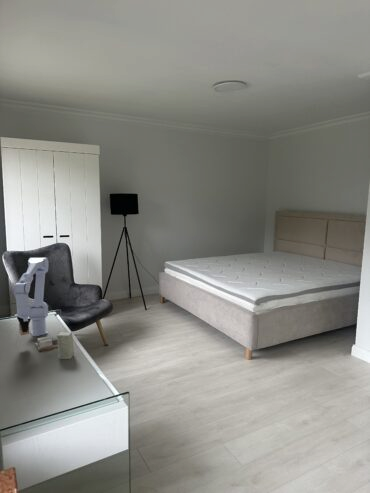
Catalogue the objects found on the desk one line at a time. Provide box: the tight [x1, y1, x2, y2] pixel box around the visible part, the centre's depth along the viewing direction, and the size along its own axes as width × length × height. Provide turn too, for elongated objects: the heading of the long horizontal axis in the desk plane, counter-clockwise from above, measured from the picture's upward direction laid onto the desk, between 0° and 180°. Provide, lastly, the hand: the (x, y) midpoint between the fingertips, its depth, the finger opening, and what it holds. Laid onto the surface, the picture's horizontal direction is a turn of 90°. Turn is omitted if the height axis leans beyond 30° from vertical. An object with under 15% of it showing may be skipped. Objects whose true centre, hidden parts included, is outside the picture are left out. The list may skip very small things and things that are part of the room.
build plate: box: [34, 335, 58, 352], centre depth 181 cm, size 10×11×4 cm
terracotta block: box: [18, 323, 30, 336], centre depth 178 cm, size 4×4×5 cm
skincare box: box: [56, 331, 75, 360], centre depth 167 cm, size 6×4×12 cm
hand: (24, 330), depth 178 cm, fingers closed on terracotta block, 4 cm apart
